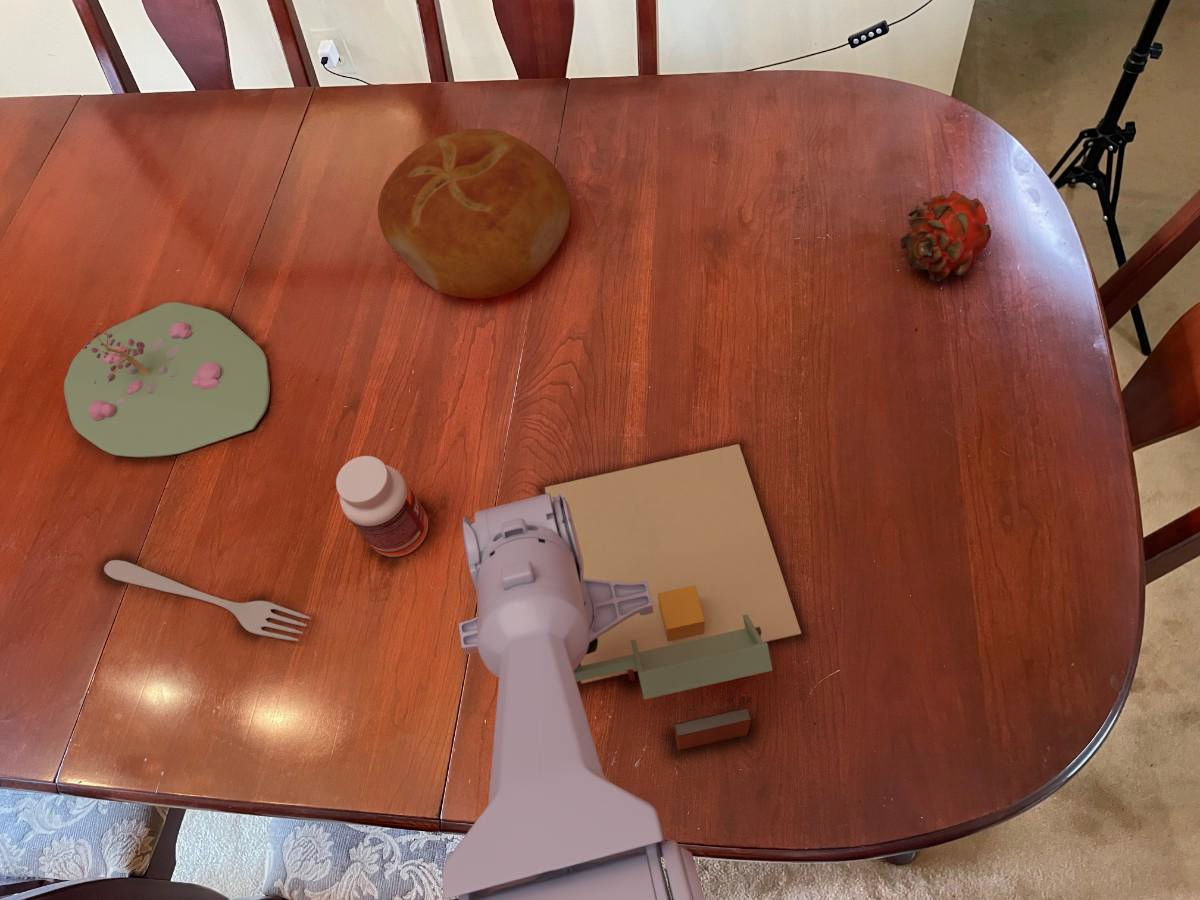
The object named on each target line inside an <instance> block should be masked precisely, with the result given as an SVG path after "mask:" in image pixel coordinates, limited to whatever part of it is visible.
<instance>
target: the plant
mask: <svg viewBox="0 0 1200 900" xmlns="http://www.w3.org/2000/svg"><path fill="white" fill-rule="evenodd" d="M99 334H100V333H99V332H98V331H96V332H94V333H93V334H92V338H94V339H93V340H89V341H86V342H85V345H84V346H83V347H82V348H81V350H80V351H79V352H78V353H77V354H76V355H75V356H74V358H73V359H72V361H71V363H70V366H69V368H68V370H67V373H66V375H65V378H64V383H63V394H64V399H65V403H66V409H67V412H68V417H69V420H70V423H71V425H72V427H73V428H74V430H76V431H77V433H78V434H79V435H81V436H82V437H83V438H84V439H86V440H87V441H88V442H90V443H91V444H93V445H94V446H95V447H97V448H98V449H100V450H102V451H104V452H106V453H108V454H110V455H113V456H117V457H123V458H124V457H126V458H139V459H141V458H146V459H147V458H160V457H169V456H175V455H181V454H184V453H188V452H191V451H194V450H197V449H200V448H203V447H206V446H209V445H212V444H214V443H217V442H221V441H223V440H227V439H230V438H232V437H236V436H240V435H241V434H244V433H247V432H250V431H253V430H255V429H256V427H257V425H258V424H259V423H260V421H261V419H262V418H263V416H264V415H265V413H266V411H267V408H268V406H269V403H270V402H269V401H270V396H271V395H270V394H271V381H270V374H269V364H268V359H267V356H266V353H265V352H264V350H263V349H262V348H261V347H260V346H259V344H257V343H256V342H255V341H254V340H253V339H252V338H251V337H250V336H249V335H247V334H246V333H245V332H244V331H242V330H241V329H240V328H239V327H238V326H237V325H236V324H235V323H233V322H232V321H231V320H230V319H228V318H227V317H226V316H225V315H223V314H221V313H220V312H218V311H215V310H212V309H209V308H206V307H201V306H197V305H192V304H189V303H183V302H180V301H179V302H165V303H161V304H159V305H157V306H155V307H153V308H150V309H148V310H147V311H146V310H145V311H143V312H142V313H140V314H137V315H135V316H133V317H131V318H128V319H126V320H125V321H122V322H119V323H118V324H115V325H113V326H112V327H110V328H108V329H107V330H105V331H103V332H102V333H101V334H100V335H99Z"/></svg>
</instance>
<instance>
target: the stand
mask: <svg viewBox="0 0 1200 900" xmlns="http://www.w3.org/2000/svg"><path fill="white" fill-rule="evenodd" d="M756 630H757V632H758V634H759V635H760V636H761V629H760V627H756ZM627 672H628V673H627V675H628V679H629V682H635V681H636V677H635V672H634V671H633V669H631V670H627ZM749 710H750V709H749V708H748V707H743V708H739V709H734V710H729V711H725V712H721V713H717V714H712V715H708V716H703V717H699V718H694V719H691V720H685V721H681V722H677V723H674V727H673V728H674V736H675V742H676V747H677V750H678V751H683V750H686V749H690V748H697V747H700V746H704V745H709V744H713V743H716V742H717V743H718V742H722V741H726V740H730V739H735V738H739V737H742V736H747V735H748V732H749V729H750V726H751V722H752V716H751V713H750V711H749Z"/></svg>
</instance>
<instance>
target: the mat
mask: <svg viewBox="0 0 1200 900" xmlns="http://www.w3.org/2000/svg"><path fill="white" fill-rule="evenodd" d="M544 492H545V494H546V493H550V495H551V498H552V501H553V502H554V500H553V497H554V496H559V495H560V493H562V495H563V497H564V498H565V499H566V501H567V503H568V505H569V507H570V511H571V514H572V518H573V522H574V526H575V529H576V533H577V537H578V541H579V545H580V549H581V554H582V558H583V563H584V578H586V579H594V580H603V581H612V582H620V583H637V582H643V581H647V584H648V588H649V592H650V596H651V600H652V605H653V613H651V614H647V615H640V614H639V613H637V614H635V615H633V616H631V617H629V618H628V619H626V620H625V621H623V622H621V623H620V624H618V625H617V626H615V627H613V628H612V629H610V630H609V631H607V632H606V633H604V634H602V635H601V636H599V637H598V645H597V649H596V651H594V652H592V653H590V654H586V655H585V657H584V658H583V660H582V662H581V666H584V665H588V664H593V663H597V662H601V661H606V660H610V659H615V658H619V657H624V656H628V655H633V654H634V653H633V648H632V644H631V640H636V643H637V648H638V652H643V651H648V650H652V649H657V648H661V647H665V646H670V645H674V644H679V643H683V642H688V641H692V640H697V639H701V638H705V637H710V636H714V635H719V634H723V633H728V632H732V631H736V630H741V629H745V625H744V619H743V615H746V614H747V615H748V616H749V618H750V620H751V621H752V623H753V625H754V627H755V628H756V627H760V629H761V636H760V637H761V639H762V640H763V642H767V643H769V642H773V641H777V640H781V639H786V638H790V637H794V636H795V637H796V636H799V635H802V630H801V628H800V625H799V622H798V619H797V616H796V613H795V610H794V606H793V604H792V601H791V597H790V594H789V591H788V588H787V585H786V581H785V580H784V575H783V574H782V570H781V567H780V565H779V561H778V558H777V555H776V552H775V549H774V546H773V542H772V540H771V537H770V534H769V531H768V528H767V524H766V521H765V518H764V515H763V513H762V510H761V507H760V503H759V500H758V497H757V494H756V491H755V489H754V485H753V482H752V479H751V477H750V472H749V470H748V467H747V464H746V461H745V457H744V455H743V452H742V449H741V445H740V443H737V444H733V445H728V446H724V447H723V446H722V447H719V448H715V449H710V450H706V451H702V452H697V453H696V452H695V453H693V454H688V455H683V456H679V457H673V458H670V459H665V460H661V461H656V462H653V463H648V464H643V465H639V466H634V467H629V468H626V469H621V470H616V471H612V472H607V473H603V474H598V475H594V476H589V477H585V478H580V479H576V480H575V479H574V480H571V481H567V482H562V483H558V484H553V485H549V486H544ZM693 585H695V586H696V590H697V594H698V598H699V601H700V605H701V609H702V612H703V616H704V620H705V631H704V633H703V634H698V635H694V636H689V637H685V638H681V639H676V640H672V641H667V637H666V633H665V629H664V625H663V621H662V616H661V612H660V608H659V601H658V593H662V592H667V591H671V590H676V589H680V588H685V587H689V586H693ZM633 671H634V673H637V672H638V671H637V668H635V669H633ZM626 674H627V675H628V672H627V670H626V671H622V672H617V673H613V674H609V675H604V676H600V677H595V678H591V679H586V680H582V681H580V684H581V685H583V684H587V683H592V682H597V681H600V680H605V679H609V678H614V677H618V676H622V675H626Z"/></svg>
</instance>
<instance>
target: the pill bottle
mask: <svg viewBox="0 0 1200 900" xmlns="http://www.w3.org/2000/svg"><path fill="white" fill-rule="evenodd" d="M335 487H336V491H337V493H338V495H339V504H340V508H341V511H342V513H343V514H344V515H345V517H346V518H347V519H348V520H349V521H350V523H351V524H352V525H353V526H354V527H355V529H356V530H357V531H358V532H359V533H360V535H361V536H362V537H363V538H364V540H365V541H366V542H367V544H368V545H370V546H371V548H372V549H373V550H374V551H375V552H377V553H378V554H380V555H383V556H386V557H389V558H398V557H402V556H406V555H409V554H410V553H412V552H414V551H415V550H416V549H417V548H419V547H420V546H421V544H422V543H423V542H424V540H425V539H426V536H427V534H428V530H429V517H428V516H427V513H426V511H425V509H424V507H423V506H422V505H421V503H420V501H419V500H418V498H417V496H416V495H415V494H414V492H413V490H412V489H411V487H410V486H409V484H408V482H407V481H406V480H405V478H404V476H403V475H402V474H401V472H400V471H398V470H397V469H396V468H394V467H393V466H390V465H388V464H385V463H384V462H383V461H382V460H381V459H380V458H378V457H375V456H372V455H361V456H356V457H354V458H352V459H350V460H349V461H347V462H346V463H345V464H344V465H343V466H342V467H341V468H340V469H339V471H338V474H337V475H336V479H335Z"/></svg>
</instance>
